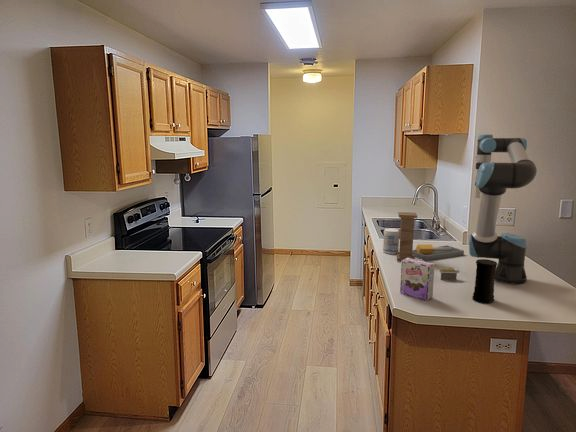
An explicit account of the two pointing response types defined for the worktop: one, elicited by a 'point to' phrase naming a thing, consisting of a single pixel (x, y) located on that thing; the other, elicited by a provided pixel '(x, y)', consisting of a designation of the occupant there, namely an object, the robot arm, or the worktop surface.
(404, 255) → the brown wooden column
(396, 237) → the supplement tub
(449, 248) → the screwdriver
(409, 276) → the candy box
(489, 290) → the container
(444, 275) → the platform
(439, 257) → the tray
